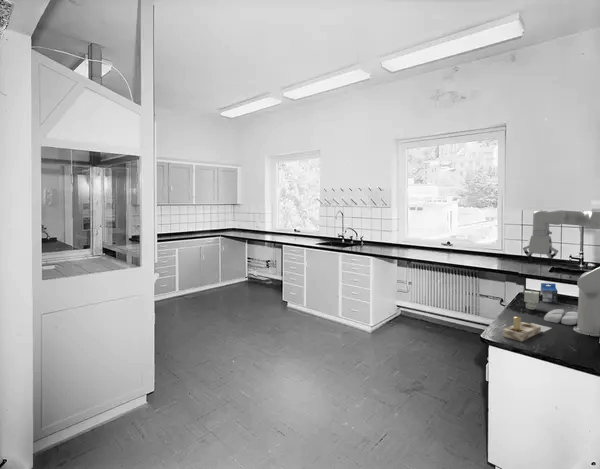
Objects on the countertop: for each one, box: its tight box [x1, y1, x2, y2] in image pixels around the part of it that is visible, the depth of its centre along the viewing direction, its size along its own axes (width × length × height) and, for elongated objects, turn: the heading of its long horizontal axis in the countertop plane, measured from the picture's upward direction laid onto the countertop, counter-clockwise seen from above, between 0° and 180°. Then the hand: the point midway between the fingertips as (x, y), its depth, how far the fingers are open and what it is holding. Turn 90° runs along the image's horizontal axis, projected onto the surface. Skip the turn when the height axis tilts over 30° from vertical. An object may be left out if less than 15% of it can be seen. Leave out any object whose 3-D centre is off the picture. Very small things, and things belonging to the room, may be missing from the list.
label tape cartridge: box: [540, 282, 558, 304], centre depth 243 cm, size 9×4×12 cm, turn 73°
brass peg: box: [512, 316, 522, 332], centre depth 180 cm, size 3×3×10 cm
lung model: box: [543, 308, 578, 326], centre depth 207 cm, size 7×17×25 cm
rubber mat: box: [530, 322, 552, 333], centre depth 192 cm, size 10×10×1 cm
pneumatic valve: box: [519, 290, 543, 311], centre depth 227 cm, size 6×12×12 cm, turn 56°
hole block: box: [502, 321, 542, 342], centre depth 183 cm, size 9×20×4 cm, turn 123°
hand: (539, 264), depth 198 cm, fingers open, 9 cm apart
